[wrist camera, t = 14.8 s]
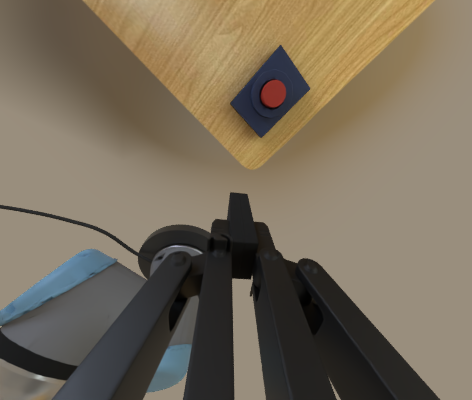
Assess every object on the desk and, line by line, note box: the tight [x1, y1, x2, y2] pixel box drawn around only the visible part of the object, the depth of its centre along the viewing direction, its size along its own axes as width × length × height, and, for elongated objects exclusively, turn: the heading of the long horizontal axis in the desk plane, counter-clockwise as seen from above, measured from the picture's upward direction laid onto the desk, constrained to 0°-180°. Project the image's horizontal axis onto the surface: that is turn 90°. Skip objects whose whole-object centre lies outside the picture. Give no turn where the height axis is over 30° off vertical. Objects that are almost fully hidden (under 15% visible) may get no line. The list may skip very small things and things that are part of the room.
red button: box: [261, 80, 286, 108], centre depth 27 cm, size 4×4×2 cm
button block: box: [230, 45, 310, 138], centre depth 30 cm, size 11×8×4 cm
